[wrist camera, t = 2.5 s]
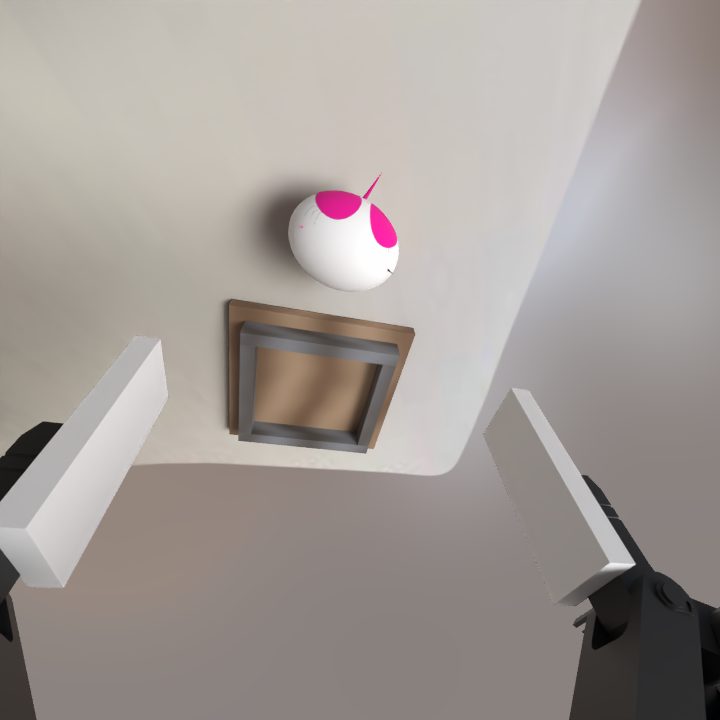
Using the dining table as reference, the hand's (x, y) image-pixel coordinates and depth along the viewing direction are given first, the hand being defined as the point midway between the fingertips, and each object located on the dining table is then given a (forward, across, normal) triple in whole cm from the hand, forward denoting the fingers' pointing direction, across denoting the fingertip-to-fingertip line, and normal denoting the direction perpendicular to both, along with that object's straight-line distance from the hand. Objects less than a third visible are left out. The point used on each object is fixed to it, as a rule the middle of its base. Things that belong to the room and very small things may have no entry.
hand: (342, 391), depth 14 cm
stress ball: (+18, 0, +2) cm, 18 cm away
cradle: (+18, 0, -15) cm, 23 cm away
